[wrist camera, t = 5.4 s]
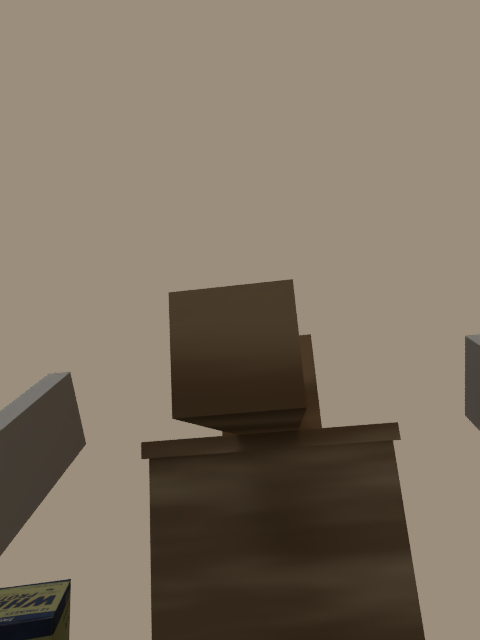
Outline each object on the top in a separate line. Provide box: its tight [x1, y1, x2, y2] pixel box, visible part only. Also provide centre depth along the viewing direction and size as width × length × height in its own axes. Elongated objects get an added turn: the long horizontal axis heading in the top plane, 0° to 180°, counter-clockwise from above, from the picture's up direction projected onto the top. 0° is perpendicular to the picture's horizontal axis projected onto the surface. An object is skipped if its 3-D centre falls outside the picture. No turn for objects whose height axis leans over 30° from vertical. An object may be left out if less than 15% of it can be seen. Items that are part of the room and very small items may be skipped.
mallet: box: [169, 280, 322, 436], centre depth 22 cm, size 24×6×6 cm, turn 174°
